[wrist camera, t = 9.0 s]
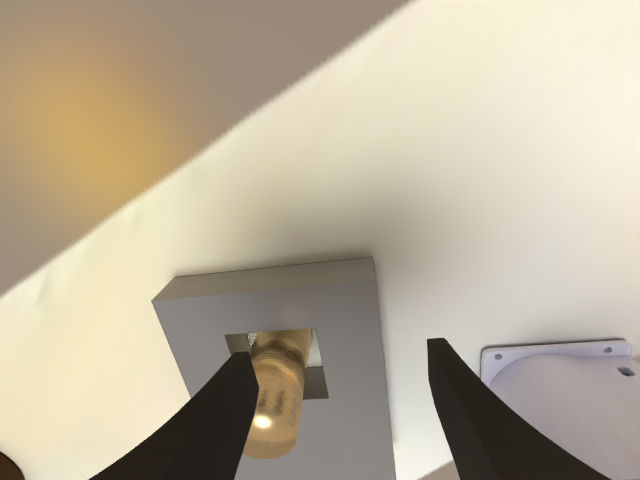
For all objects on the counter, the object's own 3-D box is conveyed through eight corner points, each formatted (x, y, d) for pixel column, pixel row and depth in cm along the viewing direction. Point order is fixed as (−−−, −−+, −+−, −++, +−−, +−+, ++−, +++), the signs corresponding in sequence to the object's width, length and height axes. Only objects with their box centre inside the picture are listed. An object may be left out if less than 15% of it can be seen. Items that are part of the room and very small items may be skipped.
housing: (372, 257, 22) (375, 279, 19) (391, 444, 28) (396, 481, 26) (174, 277, 23) (151, 301, 21) (237, 448, 30) (225, 483, 27)
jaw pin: (310, 312, 24) (293, 408, 16) (313, 355, 25) (298, 461, 18) (256, 311, 24) (215, 404, 17) (261, 354, 26) (227, 457, 18)
